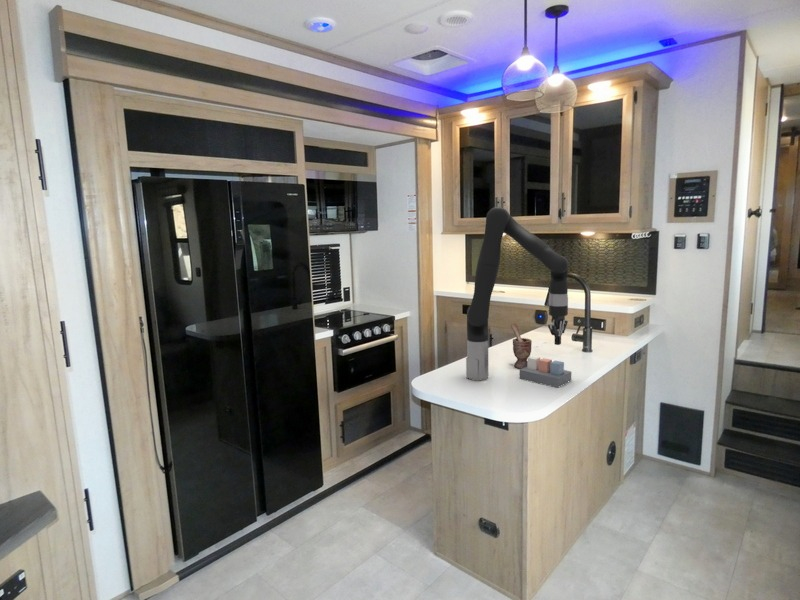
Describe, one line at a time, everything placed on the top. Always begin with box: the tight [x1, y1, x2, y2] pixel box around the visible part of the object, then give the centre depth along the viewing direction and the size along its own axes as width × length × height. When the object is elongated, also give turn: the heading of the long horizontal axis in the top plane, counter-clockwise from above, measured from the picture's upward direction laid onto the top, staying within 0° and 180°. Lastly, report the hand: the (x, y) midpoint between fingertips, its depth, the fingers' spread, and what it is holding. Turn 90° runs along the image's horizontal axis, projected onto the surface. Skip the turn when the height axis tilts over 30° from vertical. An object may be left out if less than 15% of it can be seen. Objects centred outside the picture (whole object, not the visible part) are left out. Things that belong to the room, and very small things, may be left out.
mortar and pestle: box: [510, 322, 533, 369], centre depth 226 cm, size 12×9×20 cm
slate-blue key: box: [550, 360, 565, 376], centre depth 203 cm, size 4×4×5 cm
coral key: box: [539, 357, 553, 373], centre depth 207 cm, size 4×4×5 cm
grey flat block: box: [519, 367, 572, 388], centre depth 207 cm, size 12×18×4 cm, turn 45°
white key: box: [527, 355, 541, 370], centre depth 210 cm, size 4×4×5 cm
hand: (557, 344), depth 201 cm, fingers closed
